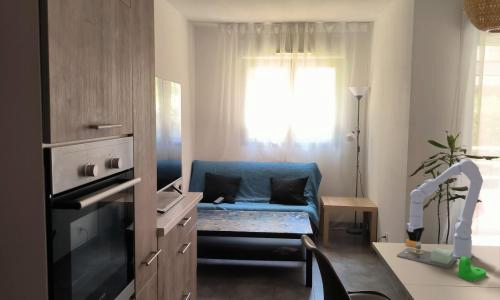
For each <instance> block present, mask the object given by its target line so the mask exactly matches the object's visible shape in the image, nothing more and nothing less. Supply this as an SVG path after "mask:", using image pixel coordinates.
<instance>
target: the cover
mask: <svg viewBox="0 0 500 300" xmlns="http://www.w3.org/2000/svg"><path fill="white" fill-rule="evenodd" d="M430 252H431V256H430V261H435V262H440V263H444V264H448V263H449V262H450V261H451V260H452V259H453V250H449V249H443V248H440V247H439V248H438V247H436V248H434V249H433V250H432V251H430Z"/></svg>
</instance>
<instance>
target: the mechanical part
mask: <svg viewBox="0 0 500 300" xmlns="http://www.w3.org/2000/svg"><path fill="white" fill-rule="evenodd" d="M471 259H472V258H468V257H465V256H463V257H461V258H459V261H458V269H457V270H458V271H457V272H458V273H457V277H459V278H460V279H461V278H462V279H464V280H467V281H471V282H476V281H478V280H481V279H483V278H486V277H487V271H486V270H485V269H483V268H480V267H476V266H472V260H471Z"/></svg>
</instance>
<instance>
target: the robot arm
mask: <svg viewBox="0 0 500 300" xmlns="http://www.w3.org/2000/svg"><path fill="white" fill-rule="evenodd" d="M462 174H463V175H465V176H466V177H467V179H468V180H469V184H468V188H467V191H466V196H465V199H464V202H463V206H462V209H461V213H460V215H459V217H458V220H457V221H456V222H455V223H454V230H455V233H454V234H453V245H452V251H453V256H455V257H457V259H461V257H463V256H465V257H468V258H470V259H472V257H473V256H474V253H472V247H473V240H472V234H473V230H472V226H473V217H474V213H475V210H476V207H477V203H478V199H479V195H480V193H481V190H482V186H483V183H484V181H483V180H484V179H483V177H482V174H481V171H480V168H479V167H478V165H477V164H476V163H475V162H474V161H472V160H471V159H468V158H463V159H461V160H460V161H459V162H456V163H455V164H453V165H451V166H450V167H448V168H447V169H446V170H445V171H443V172H442V173H440V174H439V175H438V176H436V177H435V178H434V179H432V178H430V179H426V180H424V183H422V184H421V185H419V186H416V187H415V189H413V190H412V191H411V192H410V194H409V196H410V206H409V222H407V223H406V226H408V228H407V229H406V234H407V237H408V239H410V240H416V241H421V238H422V235H423V233H424V231H425V227H424V226H423V217H424V205H423V203H424V200H425V198H429V196H430V195H432V194H433V193H435V192H436V191H437V190H439V185H442V183H444V182H446V181H447V180H449V179H450V178H452V177H453V176H460V175H462Z"/></svg>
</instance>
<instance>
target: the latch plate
mask: <svg viewBox="0 0 500 300" xmlns="http://www.w3.org/2000/svg"><path fill="white" fill-rule="evenodd" d="M431 252H432V251H429V250H424V249H423V250H422V249H420V252H416V248H412V247H407V248H405V249H404V250H402V251H401V252H399V253H398V254H396V257H398V258H401V259H406V260H410V261H413V262H414V261H415V262H419V263H422V264H423V263H424V264H427V265H430V266H431V265H432V266H434V267H439V268H443V269H449V268H450V267H451V266H452V265H453V264H455V262H456V261H457V260H458V258H457V257H455V256H453V259H452V260H451V261H450V262H449V263H448V264H444V263H440V262H435V261H430V256H431Z"/></svg>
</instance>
